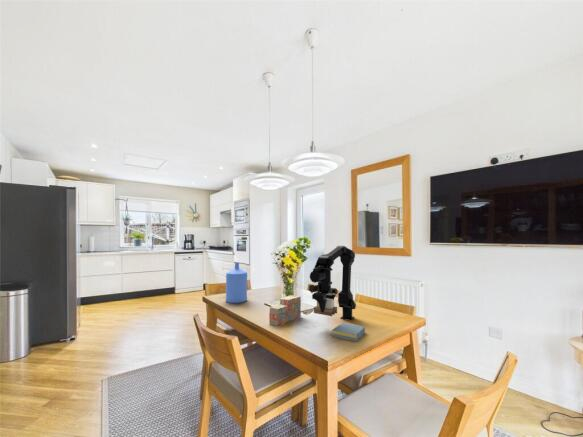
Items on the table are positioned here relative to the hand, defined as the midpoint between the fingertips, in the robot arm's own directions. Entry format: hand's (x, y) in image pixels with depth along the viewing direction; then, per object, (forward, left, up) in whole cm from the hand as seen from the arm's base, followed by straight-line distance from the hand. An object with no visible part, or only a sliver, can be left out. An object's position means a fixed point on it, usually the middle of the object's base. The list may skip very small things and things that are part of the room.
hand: (325, 310), depth 138 cm
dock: (0, +12, -10) cm, 16 cm away
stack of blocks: (-1, -26, -10) cm, 28 cm away
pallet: (0, 0, -1) cm, 1 cm away
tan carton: (0, -2, +2) cm, 3 cm away
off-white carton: (0, +2, +2) cm, 3 cm away
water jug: (-19, -83, -10) cm, 85 cm away
